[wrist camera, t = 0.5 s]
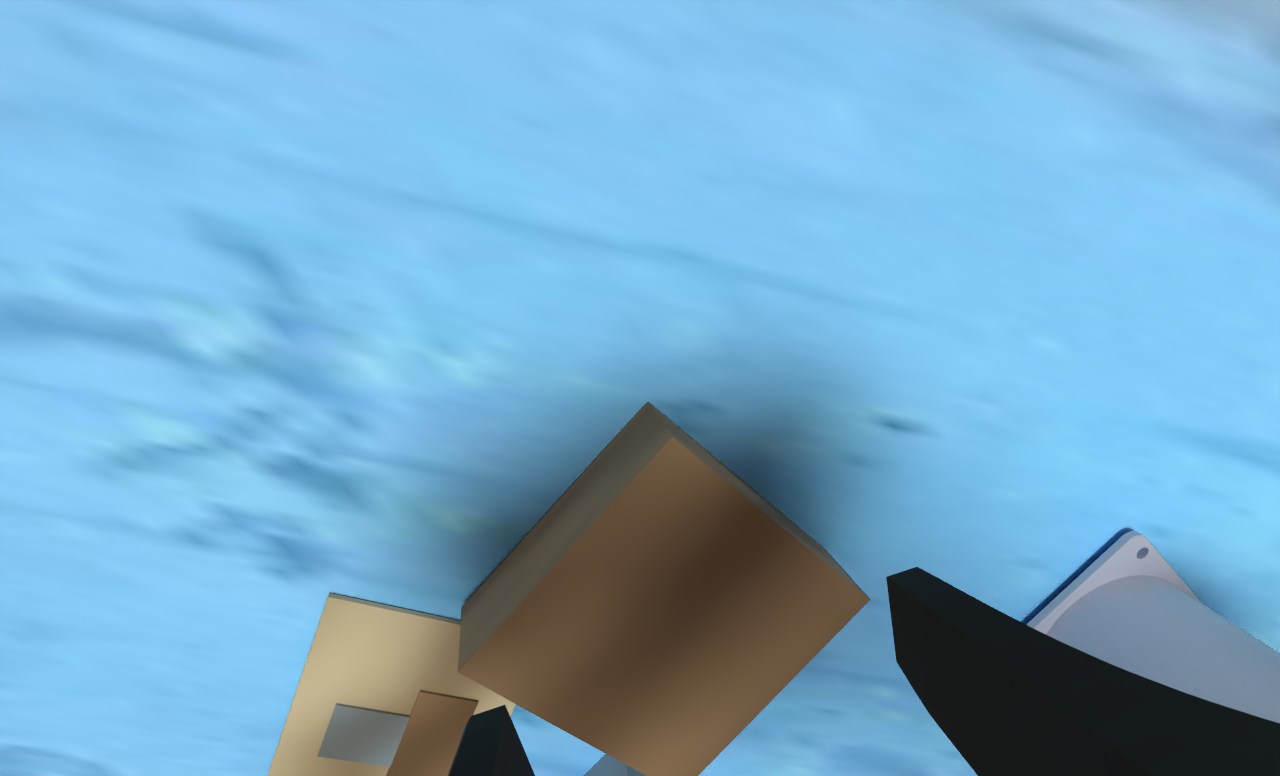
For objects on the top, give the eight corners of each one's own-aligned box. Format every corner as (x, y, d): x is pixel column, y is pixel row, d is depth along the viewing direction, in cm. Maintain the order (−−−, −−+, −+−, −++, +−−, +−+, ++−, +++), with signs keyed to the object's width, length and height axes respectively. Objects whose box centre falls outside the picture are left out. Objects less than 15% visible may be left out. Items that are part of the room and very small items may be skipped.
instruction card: (542, 638, 23) (543, 644, 22) (449, 851, 25) (448, 858, 25) (329, 593, 21) (327, 598, 20) (249, 829, 23) (246, 837, 23)
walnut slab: (825, 549, 24) (870, 599, 21) (658, 723, 25) (680, 794, 22) (647, 401, 21) (672, 436, 18) (461, 606, 21) (457, 672, 19)
